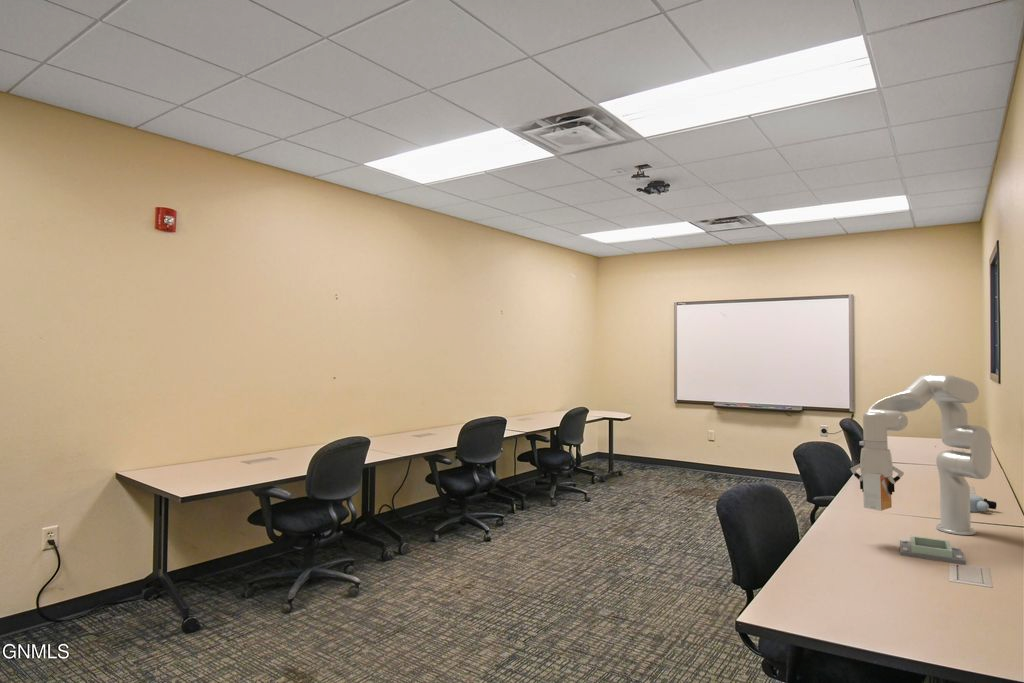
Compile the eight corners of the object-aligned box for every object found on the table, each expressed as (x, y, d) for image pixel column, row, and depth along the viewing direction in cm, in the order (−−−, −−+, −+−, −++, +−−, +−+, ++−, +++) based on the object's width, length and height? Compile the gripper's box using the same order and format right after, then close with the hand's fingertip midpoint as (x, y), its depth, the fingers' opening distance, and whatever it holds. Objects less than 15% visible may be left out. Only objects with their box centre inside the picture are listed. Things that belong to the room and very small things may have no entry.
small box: (881, 511, 212) (880, 475, 212) (863, 507, 217) (862, 472, 218) (892, 507, 217) (891, 472, 217) (874, 504, 222) (872, 469, 222)
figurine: (941, 509, 265) (998, 520, 255) (943, 490, 265) (1000, 501, 254) (938, 501, 280) (991, 511, 269) (940, 484, 280) (993, 493, 269)
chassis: (899, 543, 218) (899, 533, 218) (960, 552, 208) (960, 541, 208) (900, 554, 205) (900, 544, 205) (965, 564, 195) (964, 553, 195)
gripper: (848, 445, 219) (849, 492, 219) (904, 448, 210) (905, 497, 209) (849, 442, 225) (850, 488, 225) (903, 445, 216) (905, 493, 216)
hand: (877, 492), depth 217 cm, fingers closed on small box, 8 cm apart
